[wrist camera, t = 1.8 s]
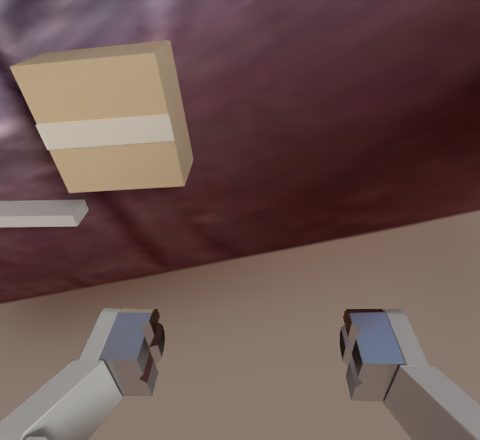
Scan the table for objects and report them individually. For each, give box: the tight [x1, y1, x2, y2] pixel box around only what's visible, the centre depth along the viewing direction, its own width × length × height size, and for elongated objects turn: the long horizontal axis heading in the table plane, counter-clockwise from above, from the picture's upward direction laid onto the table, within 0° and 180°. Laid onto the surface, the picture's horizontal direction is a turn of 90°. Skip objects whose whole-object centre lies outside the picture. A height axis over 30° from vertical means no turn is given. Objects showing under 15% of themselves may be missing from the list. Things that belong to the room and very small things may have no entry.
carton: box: [10, 40, 193, 193], centre depth 24 cm, size 9×9×5 cm
